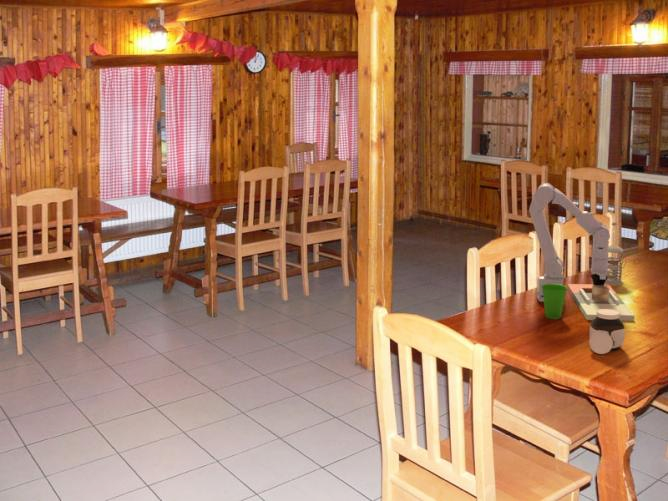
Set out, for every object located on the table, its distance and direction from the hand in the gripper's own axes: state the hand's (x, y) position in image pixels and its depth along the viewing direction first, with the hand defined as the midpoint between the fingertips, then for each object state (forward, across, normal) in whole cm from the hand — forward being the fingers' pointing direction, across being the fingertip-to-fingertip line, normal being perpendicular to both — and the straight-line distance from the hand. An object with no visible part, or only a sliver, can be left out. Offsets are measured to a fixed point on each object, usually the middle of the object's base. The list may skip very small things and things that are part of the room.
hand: (597, 293), depth 311 cm
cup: (+4, -20, +19) cm, 28 cm away
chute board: (+3, -2, 0) cm, 4 cm away
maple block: (+1, -4, 0) cm, 4 cm away
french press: (+4, +31, -12) cm, 33 cm away
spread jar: (+4, -54, +8) cm, 55 cm away
